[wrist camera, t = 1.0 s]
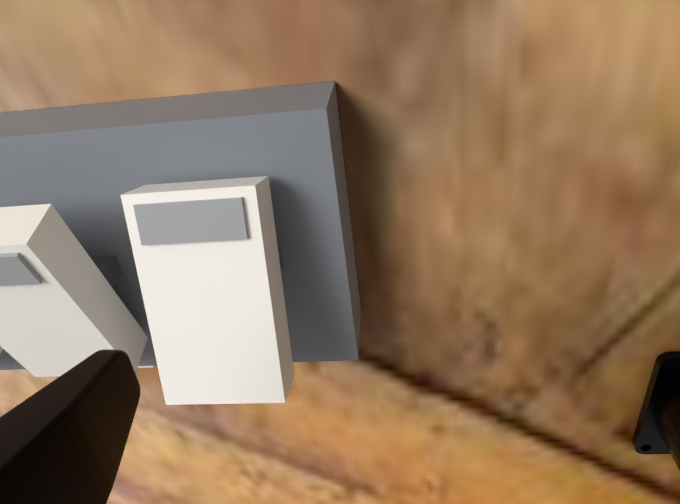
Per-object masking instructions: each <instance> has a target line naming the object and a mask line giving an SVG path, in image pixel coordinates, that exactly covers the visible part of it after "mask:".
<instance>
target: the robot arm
mask: <svg viewBox="0 0 680 504" xmlns="http://www.w3.org/2000/svg"><path fill="white" fill-rule="evenodd" d="M669 363H670V364H669ZM139 398H140V385H139V382H138V379H137V376H136V374H135V371H134V369H133V366H132V363H131V361H130V358H129V356H128V354H127V353H126V352H125V351H123V350H105V349H103V350H99V351H97V352H95V353H93V354H92V355H90V356H89V357H87V358H86V359H85V360H83V361H82V362H80V363H79V364H77V365H76V366H74V367H73V368H71V369H70V370H68V371H67V372H66V373H64V374H63V375H61V376H60V377H58V378H57V379H55V380H54V381H52V382H51V383H50V384H48V385H47V386H45V387H44V388H42V389H41V390H39V391H38V392H36V393H35V394H33V395H32V396H31V397H29V398H28V399H26V400H25V401H23V402H22V403H20V404H19V405H17V406H16V407H15V408H13V409H12V410H10V411H9V412H7V413H6V414H4V415H3V416H1V417H0V504H106V503H107V500H108V497H109V495H110V492H111V490H112V487H113V484H114V481H115V478H116V475H117V472H118V469H119V465H120V462H121V459H122V455H123V452H124V449H125V445H126V442H127V439H128V435H129V432H130V429H131V425H132V422H133V419H134V415H135V412H136V409H137V405H138V402H139ZM632 444H633V446H634V448H635V450H636V452H637V453H640V454H671V455H672V457H673V459H674V461H675V463H676V465H677V467H678V468H679V470H680V351H679V352H666V353H663V354H661V355H660V356H659V357H657V359H656V361H655V365H654V368H653V372H652V375H651V378H650V382H649V385H648V389H647V392H646V395H645V399H644V402H643V406H642V409H641V412H640V416H639V419H638V423H637V426H636V429H635V433H634V436H633V440H632Z"/></svg>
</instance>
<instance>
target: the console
mask: <svg viewBox="0 0 680 504" xmlns="http://www.w3.org/2000/svg"><path fill="white" fill-rule="evenodd" d="M260 176H269V184H270V191H271V199H272V207H273V215H274V222H275V230H276V238H277V245H278V253H279V261H280V269H281V276H282V284H283V292H284V299H285V307H286V315H287V323H288V330H289V338H290V346H291V353H292V361H293V362H304V361H341V360H358V355H359V339H360V324H361V304H360V296H359V287H358V278H357V269H356V261H355V252H354V243H353V235H352V226H351V217H350V208H349V200H348V191H347V182H346V173H345V165H344V156H343V147H342V139H341V130H340V121H339V112H338V104H337V95H336V86H335V81H331V82H320V83H310V84H299V85H289V86H278V87H268V88H257V89H247V90H236V91H225V92H215V93H204V94H194V95H183V96H173V97H162V98H152V99H141V100H131V101H120V102H109V103H99V104H88V105H78V106H67V107H57V108H46V109H36V110H25V111H14V112H4V113H0V207H11V206H26V205H40V204H52V205H53V207H54V208H55V210H56V211H57V212H58V214H59V215H60V216H61V218H62V219H63V221H64V222H65V223H66V225H67V226H68V227H69V229H70V230H71V232H72V233H73V234H74V236H75V237H76V239H77V240H78V241H79V243H80V244H81V245H82V247H83V248H84V250H85V251H86V252H87V254H88V255H89V256H90V258H91V259H92V261H93V262H94V263H95V265H96V266H97V268H98V269H99V270H100V272H101V273H102V274H103V276H104V277H105V279H106V280H107V281H108V283H109V284H110V285H111V287H112V288H113V290H114V291H115V292H116V294H117V295H118V297H119V298H120V299H121V301H122V302H123V303H124V305H125V306H126V308H127V309H128V310H129V312H130V313H131V314H132V316H133V317H134V319H135V320H136V321H137V323H138V324H139V326H140V327H141V328H142V330H143V331H144V332H145V334H146V335H147V337H148V339H147V342H146V344H145V347H144V350H143V353H142V356H141V359H140V362H139V365H138V368H150V367H154V366H157V361H156V357H155V352H154V347H153V343H152V338H151V334H150V329H149V324H148V320H147V315H146V311H145V306H144V301H143V297H142V292H141V288H140V283H139V278H138V274H137V269H136V265H135V260H134V255H133V251H132V246H131V242H130V237H129V233H128V228H127V223H126V219H125V214H124V210H123V205H122V200H121V196H120V195H121V194H124V193H127V192H129V191H132V190H134V189H137V188H139V187H142V186H144V185H151V184H164V183H178V182H192V181H205V180H219V179H233V178H247V177H260ZM11 369H26V368H24V367H23V366H22V365H21V364H20V363H19V362H18V361H17V360H15V359H14V358H13V357H12V356H11V355H10V354H9V353H8V352H6V351H5V350H4V349H3V350H2V352H1V354H0V370H11Z"/></svg>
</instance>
